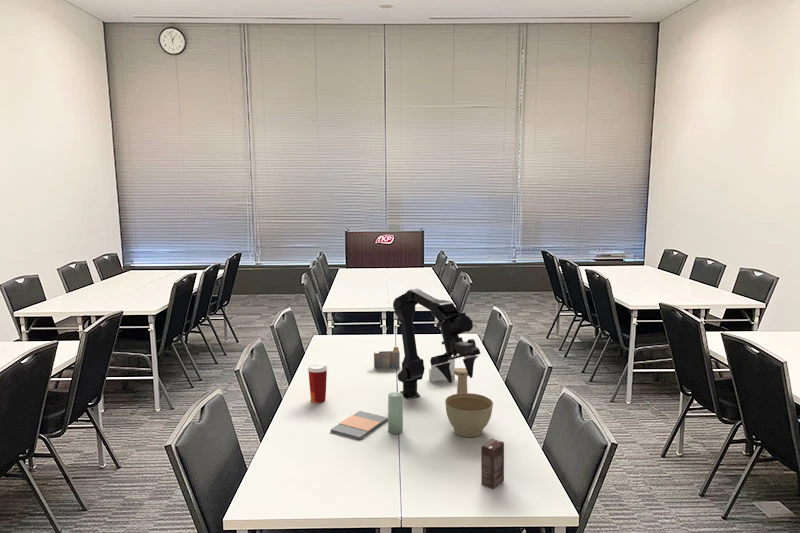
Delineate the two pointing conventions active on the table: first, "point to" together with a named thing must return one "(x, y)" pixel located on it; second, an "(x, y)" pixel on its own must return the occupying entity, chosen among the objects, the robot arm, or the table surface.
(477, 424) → the planter bowl
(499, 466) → the box
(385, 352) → the architectural model on board
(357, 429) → the grey orange flat block
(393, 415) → the green cylinder
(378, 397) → the table surface
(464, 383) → the handle
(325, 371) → the paper cup
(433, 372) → the ink cartridge box
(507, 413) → the table surface
